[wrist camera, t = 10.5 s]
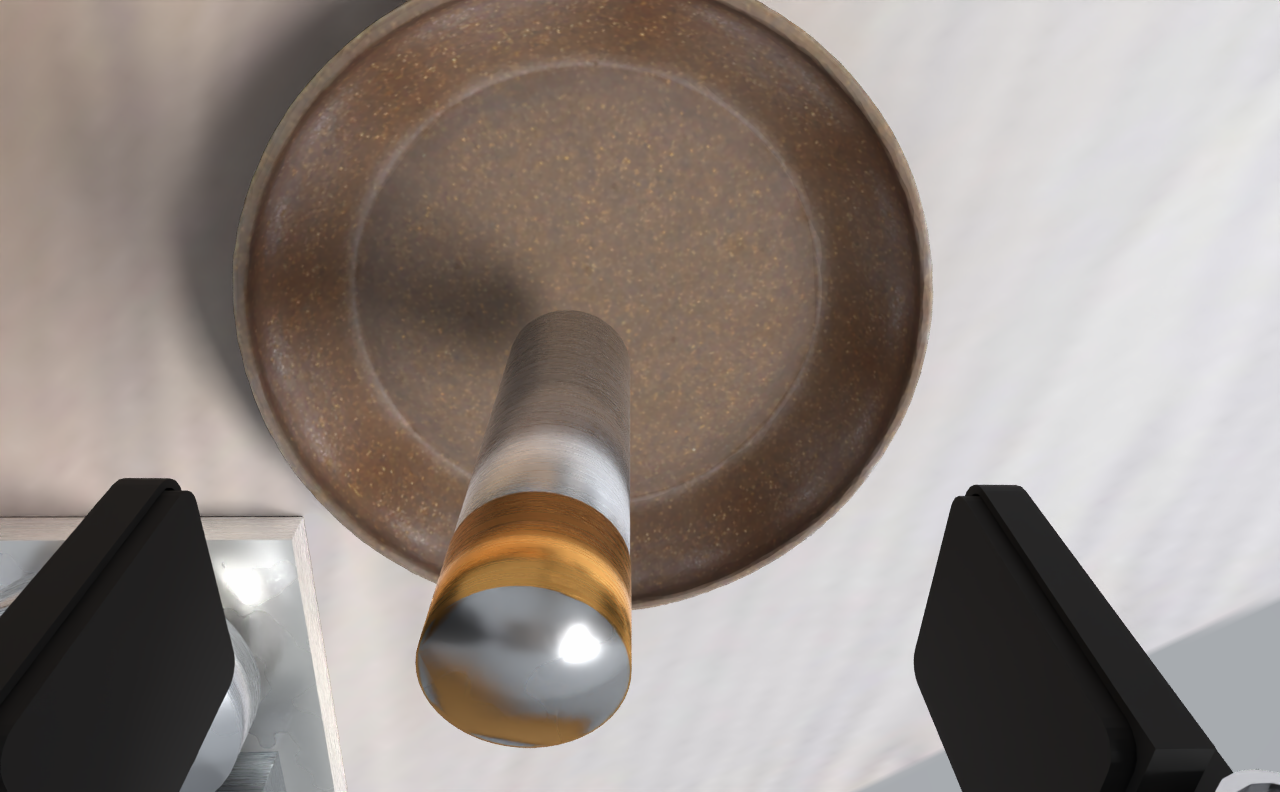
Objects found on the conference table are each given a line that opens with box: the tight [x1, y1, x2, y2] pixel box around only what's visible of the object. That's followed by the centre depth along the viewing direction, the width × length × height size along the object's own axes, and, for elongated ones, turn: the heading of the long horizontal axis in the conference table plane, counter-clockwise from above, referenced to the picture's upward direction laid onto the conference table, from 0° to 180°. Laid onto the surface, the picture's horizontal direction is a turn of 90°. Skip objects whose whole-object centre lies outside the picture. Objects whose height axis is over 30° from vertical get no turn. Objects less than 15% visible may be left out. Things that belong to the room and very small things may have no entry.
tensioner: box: [0, 517, 347, 792], centre depth 24 cm, size 14×9×4 cm, turn 178°
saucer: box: [233, 0, 933, 610], centre depth 20 cm, size 15×15×3 cm
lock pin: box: [416, 310, 631, 748], centre depth 15 cm, size 3×3×9 cm
